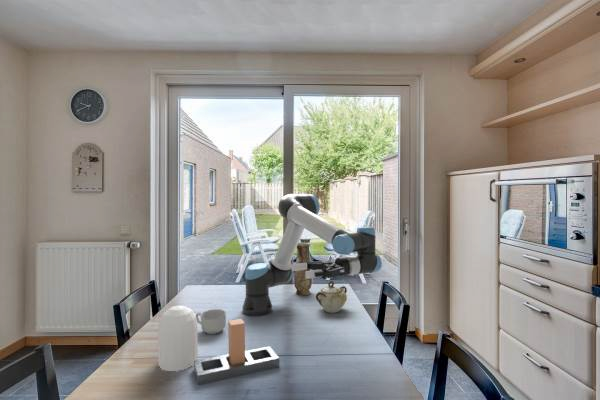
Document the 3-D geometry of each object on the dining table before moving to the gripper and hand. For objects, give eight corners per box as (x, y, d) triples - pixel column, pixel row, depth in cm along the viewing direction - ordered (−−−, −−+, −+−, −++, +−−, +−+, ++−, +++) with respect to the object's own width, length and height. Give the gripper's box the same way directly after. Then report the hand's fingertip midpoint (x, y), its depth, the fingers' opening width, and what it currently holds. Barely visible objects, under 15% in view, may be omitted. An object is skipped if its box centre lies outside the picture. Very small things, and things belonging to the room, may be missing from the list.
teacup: (231, 328, 153) (230, 311, 153) (215, 338, 144) (215, 319, 143) (206, 324, 159) (206, 306, 159) (189, 332, 149) (189, 314, 149)
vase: (292, 295, 203) (292, 244, 202) (296, 290, 214) (295, 241, 213) (310, 295, 201) (310, 244, 201) (312, 290, 212) (312, 241, 211)
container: (156, 358, 126) (155, 304, 126) (193, 350, 133) (192, 298, 132) (161, 375, 114) (160, 315, 114) (202, 365, 121) (201, 308, 120)
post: (228, 366, 120) (228, 320, 120) (241, 363, 122) (241, 318, 121) (231, 372, 116) (231, 325, 115) (245, 369, 118) (244, 323, 117)
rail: (194, 369, 118) (193, 360, 118) (269, 354, 129) (269, 346, 129) (198, 384, 108) (197, 375, 108) (279, 366, 119) (279, 358, 119)
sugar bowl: (325, 318, 165) (325, 287, 165) (307, 309, 177) (307, 280, 177) (356, 310, 176) (356, 280, 176) (337, 302, 188) (337, 275, 188)
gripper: (363, 282, 130) (312, 289, 121) (331, 269, 153) (287, 274, 144) (363, 262, 130) (312, 267, 121) (331, 252, 153) (286, 256, 144)
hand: (298, 271), depth 133 cm, fingers open, 13 cm apart
